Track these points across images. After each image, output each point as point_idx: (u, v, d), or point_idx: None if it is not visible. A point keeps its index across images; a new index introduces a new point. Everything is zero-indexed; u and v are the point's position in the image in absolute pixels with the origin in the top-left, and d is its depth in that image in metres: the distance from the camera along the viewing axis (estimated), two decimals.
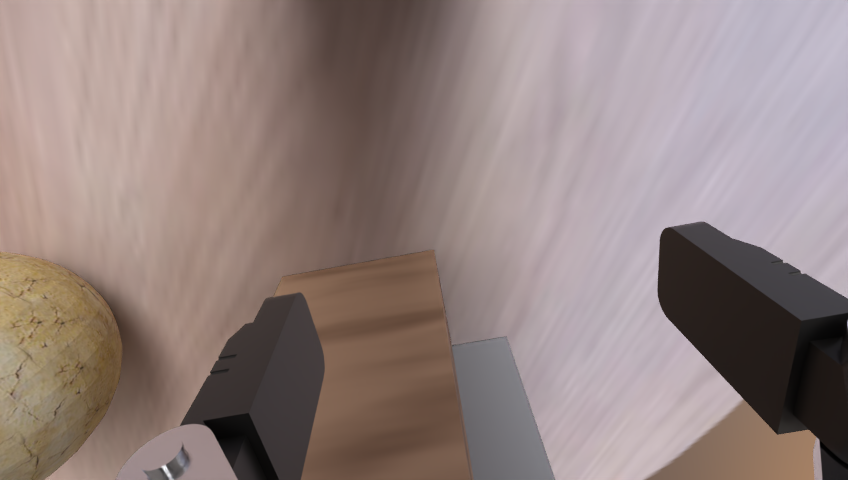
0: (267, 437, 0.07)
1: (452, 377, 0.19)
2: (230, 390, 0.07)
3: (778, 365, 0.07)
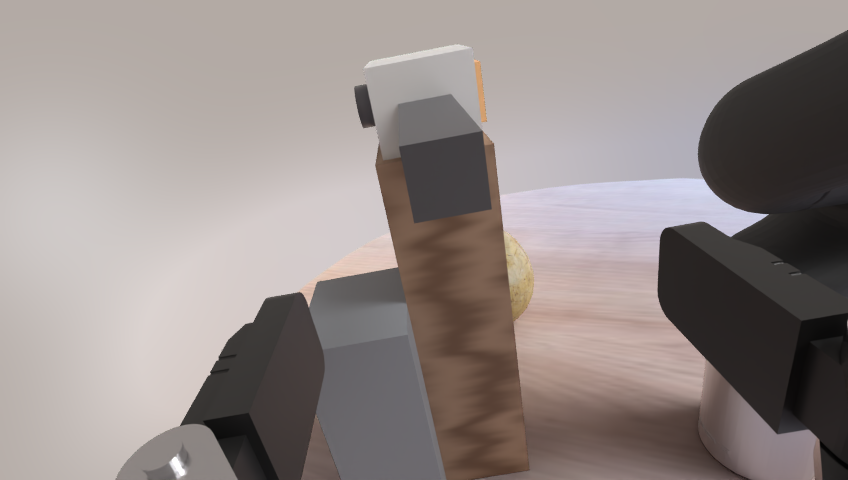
0: (267, 437, 0.07)
1: None
2: (230, 390, 0.07)
3: (778, 365, 0.07)
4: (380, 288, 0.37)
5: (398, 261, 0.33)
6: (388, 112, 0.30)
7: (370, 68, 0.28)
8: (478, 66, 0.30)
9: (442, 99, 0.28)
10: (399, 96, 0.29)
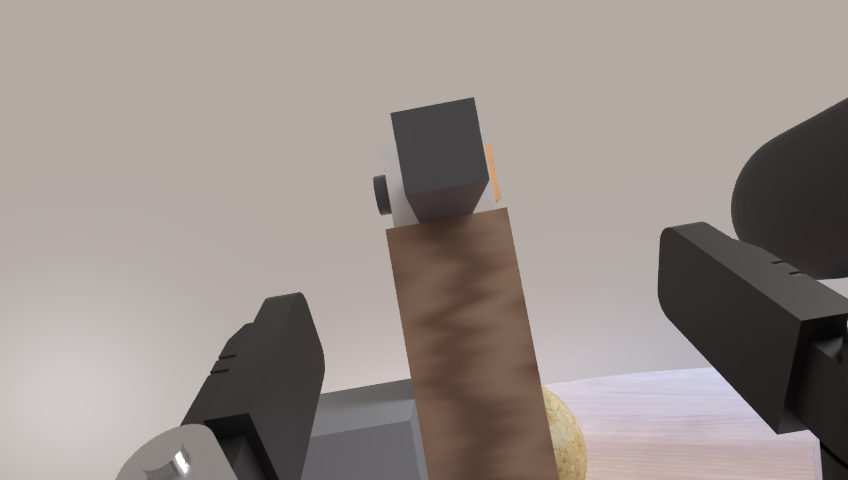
0: (267, 437, 0.07)
1: None
2: (230, 390, 0.07)
3: (778, 365, 0.07)
4: (387, 392, 0.32)
5: (406, 341, 0.29)
6: (401, 182, 0.31)
7: (386, 143, 0.31)
8: (488, 147, 0.32)
9: None
10: None
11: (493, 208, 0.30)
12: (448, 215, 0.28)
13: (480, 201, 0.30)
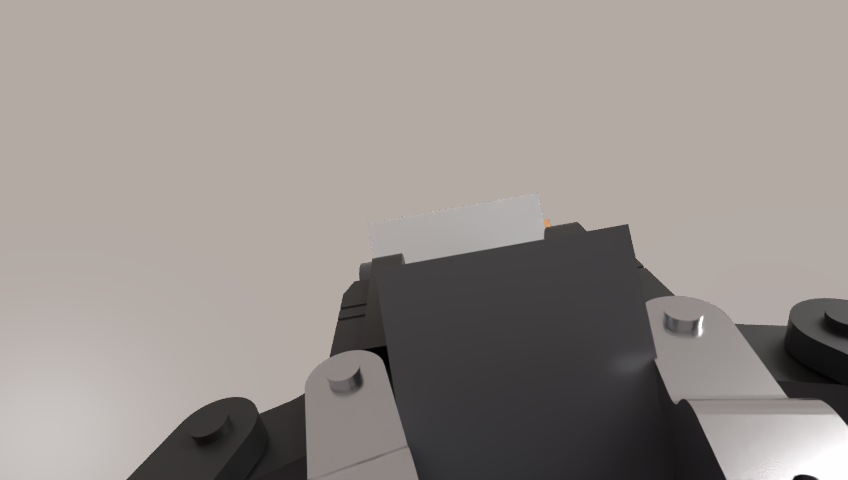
0: None
1: None
2: (375, 327, 0.08)
3: None
4: None
5: None
6: None
7: (379, 223, 0.18)
8: (547, 226, 0.20)
9: None
10: None
11: None
12: None
13: None
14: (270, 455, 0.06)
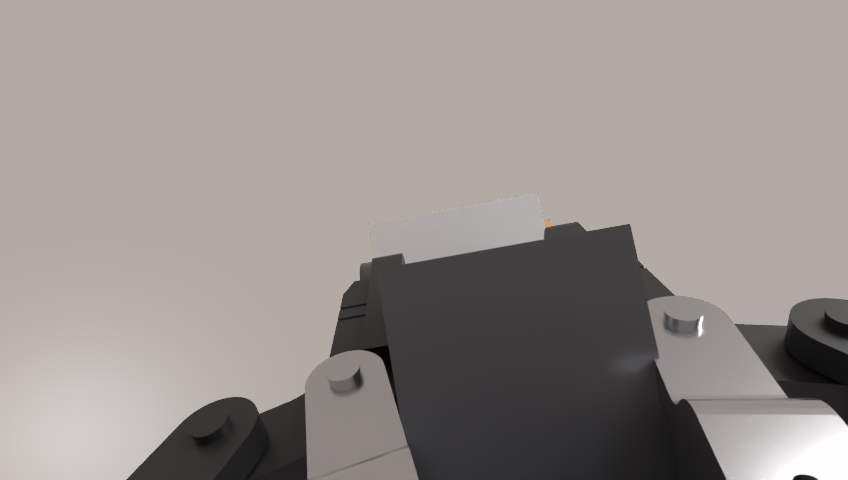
0: None
1: None
2: (375, 327, 0.08)
3: None
4: None
5: None
6: None
7: (379, 223, 0.18)
8: (547, 226, 0.20)
9: None
10: None
11: None
12: None
13: None
14: (270, 455, 0.06)
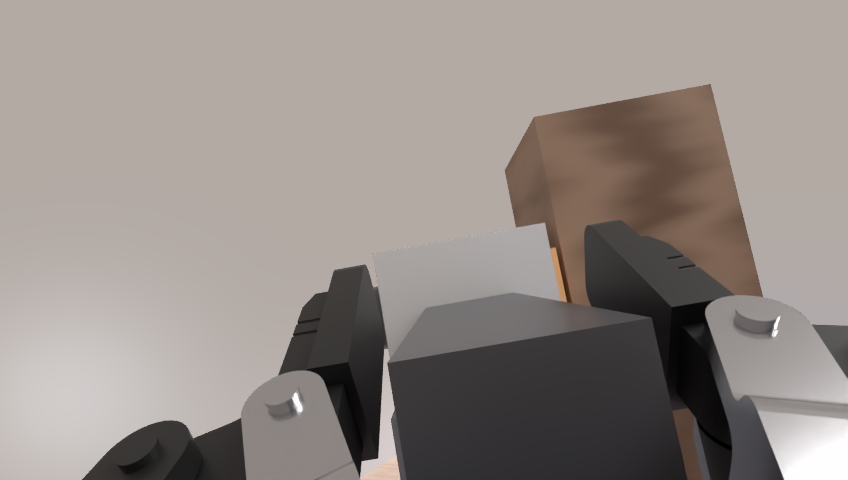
0: (359, 387, 0.08)
1: None
2: (324, 345, 0.08)
3: (661, 348, 0.08)
4: None
5: (569, 276, 0.20)
6: (410, 320, 0.18)
7: (383, 253, 0.18)
8: (553, 254, 0.19)
9: (500, 297, 0.16)
10: (429, 296, 0.18)
11: None
12: None
13: None
14: None
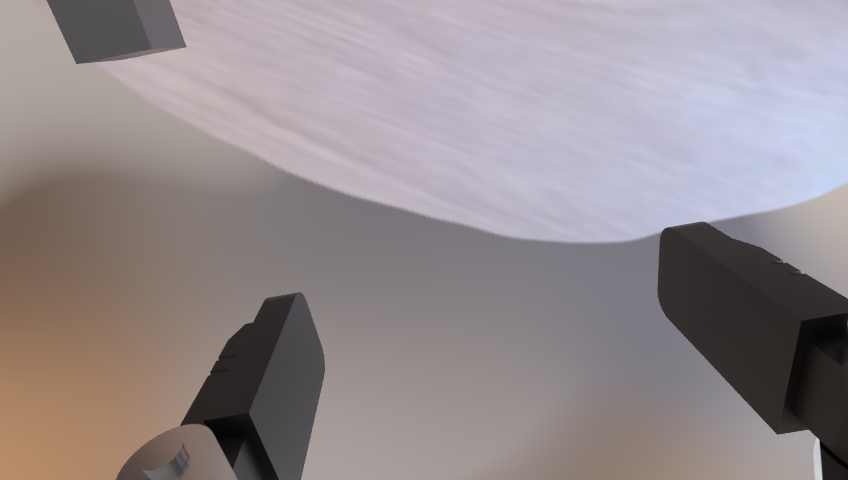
0: (267, 437, 0.07)
1: None
2: (230, 390, 0.07)
3: (778, 365, 0.07)
4: None
5: None
6: None
7: None
8: None
9: None
10: None
11: None
12: None
13: None
14: None
